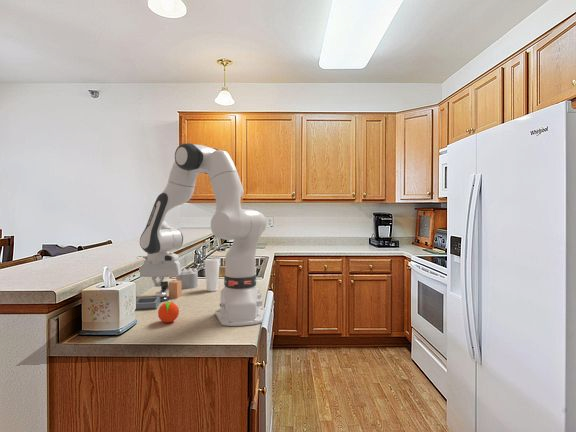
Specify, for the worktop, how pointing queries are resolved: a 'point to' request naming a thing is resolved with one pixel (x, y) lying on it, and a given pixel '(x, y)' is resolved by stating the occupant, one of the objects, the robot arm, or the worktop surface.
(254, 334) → the worktop surface
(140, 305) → the tray
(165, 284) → the crank
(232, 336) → the worktop surface
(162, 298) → the crank base
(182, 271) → the grey animal paw
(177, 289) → the block
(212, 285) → the drinking glass
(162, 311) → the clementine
